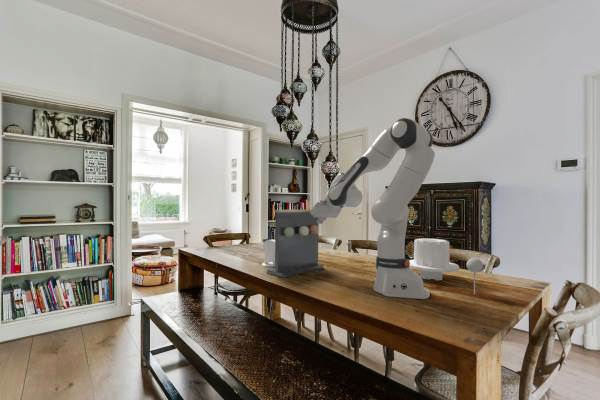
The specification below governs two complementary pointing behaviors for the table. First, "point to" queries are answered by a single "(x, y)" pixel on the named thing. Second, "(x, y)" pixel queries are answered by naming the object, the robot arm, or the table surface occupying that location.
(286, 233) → the sage button
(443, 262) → the white brimmed cylinder
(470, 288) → the table surface
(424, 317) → the table surface
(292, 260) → the button panel
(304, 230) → the cream button
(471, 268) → the lollipop
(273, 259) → the metal pitcher
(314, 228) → the terracotta button
